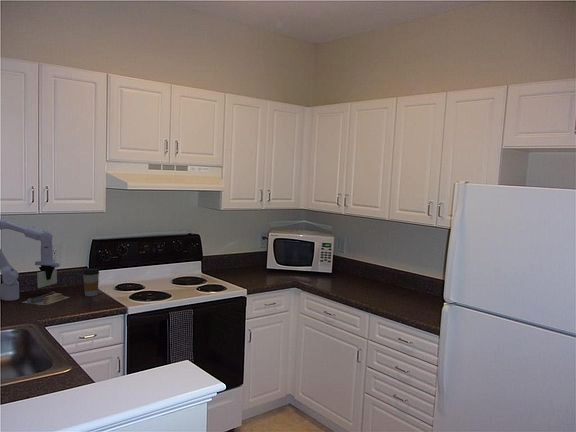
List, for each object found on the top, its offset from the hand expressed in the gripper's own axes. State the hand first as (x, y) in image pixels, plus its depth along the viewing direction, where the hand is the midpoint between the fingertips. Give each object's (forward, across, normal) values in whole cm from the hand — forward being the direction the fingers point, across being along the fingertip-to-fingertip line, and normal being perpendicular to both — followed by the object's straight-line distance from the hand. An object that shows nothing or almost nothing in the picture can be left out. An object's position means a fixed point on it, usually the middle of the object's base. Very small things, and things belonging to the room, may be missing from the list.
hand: (47, 279), depth 252 cm
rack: (+10, -5, +6) cm, 13 cm away
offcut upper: (+8, -10, +6) cm, 14 cm away
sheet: (+3, 0, 0) cm, 3 cm away
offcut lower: (+9, -10, +6) cm, 15 cm away
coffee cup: (+10, -19, -11) cm, 24 cm away
